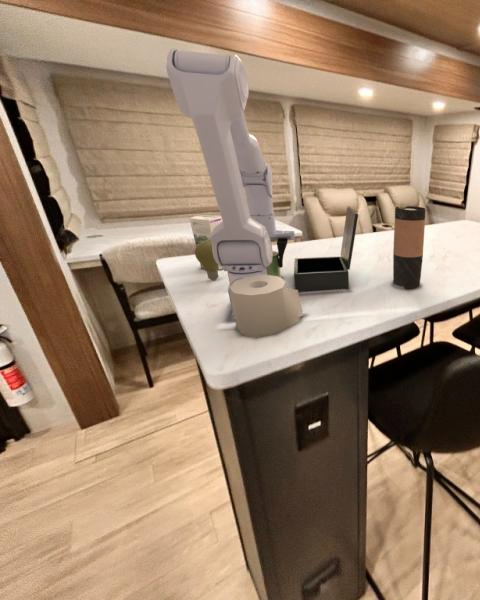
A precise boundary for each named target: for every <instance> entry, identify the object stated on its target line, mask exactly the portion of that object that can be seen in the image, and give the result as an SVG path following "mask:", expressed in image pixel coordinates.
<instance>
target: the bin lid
mask: <svg viewBox="0 0 480 600" xmlns="http://www.w3.org/2000/svg"><path fill="white" fill-rule="evenodd" d="M358 218H359V213H358V212H356V211H355V210H354V209H353V208H352V207H351V206H350V205H349V206H348V205H347V207H346V213H345V221H344V226H343V227H344V228H343V234H342V241H341V248H340V249H341V250H340V257H342V259H343V262H344V264H345V266H346V268H347V270H348V271H350V270H351V263H352V257H353V251H354V244H355V238H356V233H357V232H356V231H357V225H358Z"/></svg>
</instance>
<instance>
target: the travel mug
mask: <svg viewBox="0 0 480 600" xmlns="http://www.w3.org/2000/svg"><path fill="white" fill-rule="evenodd" d="M394 207H395V208H394V227H393V228H394V229H393V250H392V252H393V253H392V255H393V256H392V259H393V260H392V263H393V264H392V265H393V266H392V269H393V271H392V275H393V276H392V277H393V279H392V281H393V282H392V283H393V284H394V285H396V286H398V287H401V288H403V289H404V290H415V289H418V288H419V287H420V286H421V278H422V277H421V276H422V267H423V260H424V259H423V258H424V243H425V227H426V208H425V207H421V206H414V205H408V206H406V207H404V208H400V207H399V206H394Z"/></svg>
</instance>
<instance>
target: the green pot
mask: <svg viewBox="0 0 480 600" xmlns="http://www.w3.org/2000/svg"><path fill="white" fill-rule="evenodd" d="M272 251H273V257H272V262H271V264H270V265H269V266H266V271H267V275H271V276H278V277H280V278H282V277H281V276H282V272H281V268H280V267H279V254H278V251H275V250H272Z"/></svg>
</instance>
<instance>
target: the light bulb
mask: <svg viewBox="0 0 480 600" xmlns="http://www.w3.org/2000/svg"><path fill="white" fill-rule="evenodd" d="M194 255H195V256H194V257H195V258H196V260H197V261H198V262H199V264H200V263H201V264H202V266H203V267H204V268H203V269H204V271H205V272H206V274H207V278H208V279H210V280H211V281H216V280H217V279H219V277H220V275H219V271H218V264H217V263H216V261H215V259H214V256H213V251H212V243H211V242H203V243H200V244H199V245H198V246H197V247H196V246H195V249H194Z"/></svg>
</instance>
